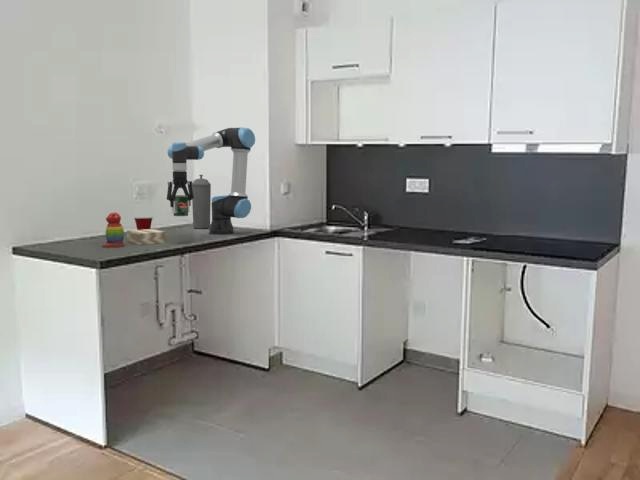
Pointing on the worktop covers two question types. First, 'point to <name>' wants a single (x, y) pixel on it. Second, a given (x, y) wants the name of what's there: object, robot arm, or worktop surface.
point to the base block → (146, 236)
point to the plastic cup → (143, 222)
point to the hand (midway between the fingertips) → (180, 212)
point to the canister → (201, 203)
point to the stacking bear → (114, 231)
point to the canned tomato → (181, 205)
